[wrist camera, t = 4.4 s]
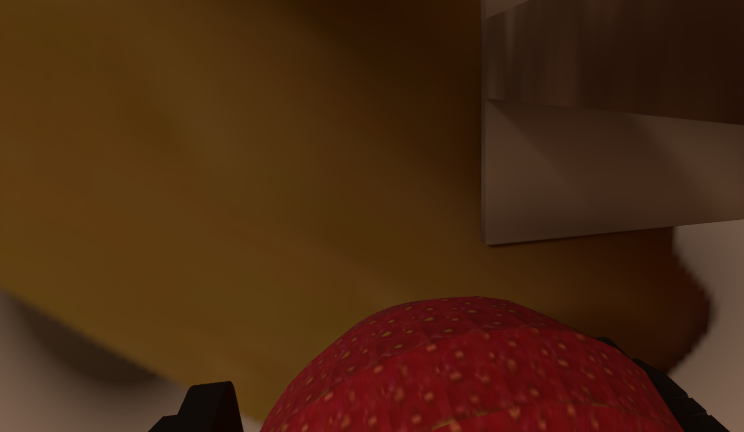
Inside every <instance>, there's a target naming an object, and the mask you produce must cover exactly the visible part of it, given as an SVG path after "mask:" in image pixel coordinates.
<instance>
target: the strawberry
mask: <svg viewBox="0 0 744 432" xmlns="http://www.w3.org/2000/svg"><path fill="white" fill-rule="evenodd" d="M260 432H684V431H683V430H682V428H681V427H680V425H679V423H678V422H677V420H676V419H675V417H674V416H673V414H672V413H671V411H670V410H669V408H668V406H667V405H666V403H665V402H664V400H663V399H662V397H661V396H660V394H659V393H658V391H657V390H656V388H655V386H654V385H653V383H652V382H651V380H650V379H649V377H648V376H647V374H646V373H645V371H644V370H643V369H642V368H641V367H639V366H638V365H637V364H635V363H634V362H633V361H632V360H630V359H629V358H628V357H626V356H625V355H624V354H623V353H621V352H620V351H619V350H618V349H616V348H614V347H612V346H610V345H607V344H605V343H603V342H601V341H599V340H597V339H595V338H592V337H590V336H588V335H586V334H584V333H582V332H579V331H577V330H575V329H573V328H571V327H569V326H566V325H564V324H562V323H560V322H558V321H556V320H554V319H551V318H549V317H547V316H545V315H543V314H541V313H538V312H536V311H534V310H531V309H529V308H526V307H524V306H521V305H519V304H516V303H513V302H511V301H508V300H501V299H494V298H487V297H479V296H473V297H455V298H440V299H432V300H423V301H415V302H409V303H405V304H400V305H396V306H392V307H390V308H387V309H385V310H382V311H380V312H377V313H375V314H373V315H371V316H369V317H368V318H366V319H364V320H363V321H361V322H359V323H357V324H356V325H355V326H353V327H352V328H351V329H350V330H348V331H347V332H346V333H345V334H343V335H342V336H341V337H340V338H338V339H337V340H336V341H335V342H334V343H333V344H331V345H330V346H329V347H328V348H327V349H325V350H324V351H323V352H322V353H321V354H320V355H318V356H317V357H316V358H315V359H314V360H312V361H311V362H310V363H309V364H308V365H307V366H306V368H305V369H304V370H303V371H302V372H301V373H300V374H299V375H298V376H297V377H296V378H295V379H294V380H293V381H292V382H291V383H290V384H289V386H288V387H287V388H286V389H285V391H284V392H283V394H282V395H281V397H280V398H279V400H278V401H277V403H276V404H275V406H274V407H273V409H272V410H271V412H270V413H269V415H268V417H267V419H266V420H265V422H264V424H263V426H262V428H261V430H260Z"/></svg>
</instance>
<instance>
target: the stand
mask: <svg viewBox="0 0 744 432" xmlns="http://www.w3.org/2000/svg"><path fill="white" fill-rule="evenodd" d="M740 219H744V0H481V241H482V242H483V243H484V244H485V245H494V244H503V243H513V242H523V241H533V240H543V239H553V238H563V237H572V236H582V235H592V234H602V233H612V232H622V231H632V230H641V229H651V228H661V227H671V226H681V225H690V224H700V223H710V222H720V221H730V220H740Z"/></svg>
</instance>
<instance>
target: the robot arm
mask: <svg viewBox="0 0 744 432" xmlns="http://www.w3.org/2000/svg"><path fill="white" fill-rule="evenodd" d="M595 339H597V340H599V341H601V342H603V343H605V344H607V345H610V346H612V347H614V348H616V349H618V350H619V351H620V352H621V353H623V354H624V355H625V356H626V357H628V356H627V355H626V354H625V353H624V352H623V351H622V350H621V349H620V348H618V347H617V346H616V345H615V344H614V343H613V342H612V341H611V340H610V339H608V338H606V337H599V338H595ZM628 358H629V357H628ZM629 359H630V358H629ZM630 360H632V361H633V362H634V363H635V364H637V365H638V366H639V367H641V368H642V369H643V370H644V371H645V373H646V374H647V376H648V377H649V379H650V380H651V382H652V383H653V385H654V386H655V388H656V390H657V391H658V393H659V394H660V396H661V397H662V399H663V400H664V402H665V403H666V405H667V406H668V408H669V410H670V411H671V413H672V414H673V416H674V417H675V419H676V420H677V422H678V423H679V425H680V427H681V428H682V430H683V431H684V432H729V431H728V430H727V429H726V428H725V427H724V426H723V425H722V424H721V423H719V422H718V421H717V420H716V419H715V418H714V417H713V416H712V415H709V416H708V415H707V413H706V410H705V409H704V408H702V406H701V405H699V404H698V403H697V402H696V401H695V400H694V399H693V398H689V397H688V395H687V393H686V392H685V391H684V390H683V389H681V388H680V387H679V386H678V385H677V384H676V383H675V382H674V381H673V380H672V379H670V378H669V377H668V376H667V375H666V374H664V373H663V372H661V371H659V370H657V369H655V368H653V367H652V366H650V365H648V364H646V363H644V362H643V361H641V360H639V359H630ZM148 432H244V431H243V426H242V422H241V417H240V412H239V407H238V403H237V398H236V393H235V389H234V386H233V384H232V382H231V381H225V382H217V383H209V384H201V385H193V386H191V387H190V388H189V390H188V392H187V394H186V396H185V399H184V401H183V403H182V405H181V407H180V410H179V412H178V414H177V415H171V416H163V417H162V418H161V419H160V420H159V421H158V422H157V423H156V424H155V425H154V426H153V427H152V428H151V429H150V430H149V431H148Z"/></svg>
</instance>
